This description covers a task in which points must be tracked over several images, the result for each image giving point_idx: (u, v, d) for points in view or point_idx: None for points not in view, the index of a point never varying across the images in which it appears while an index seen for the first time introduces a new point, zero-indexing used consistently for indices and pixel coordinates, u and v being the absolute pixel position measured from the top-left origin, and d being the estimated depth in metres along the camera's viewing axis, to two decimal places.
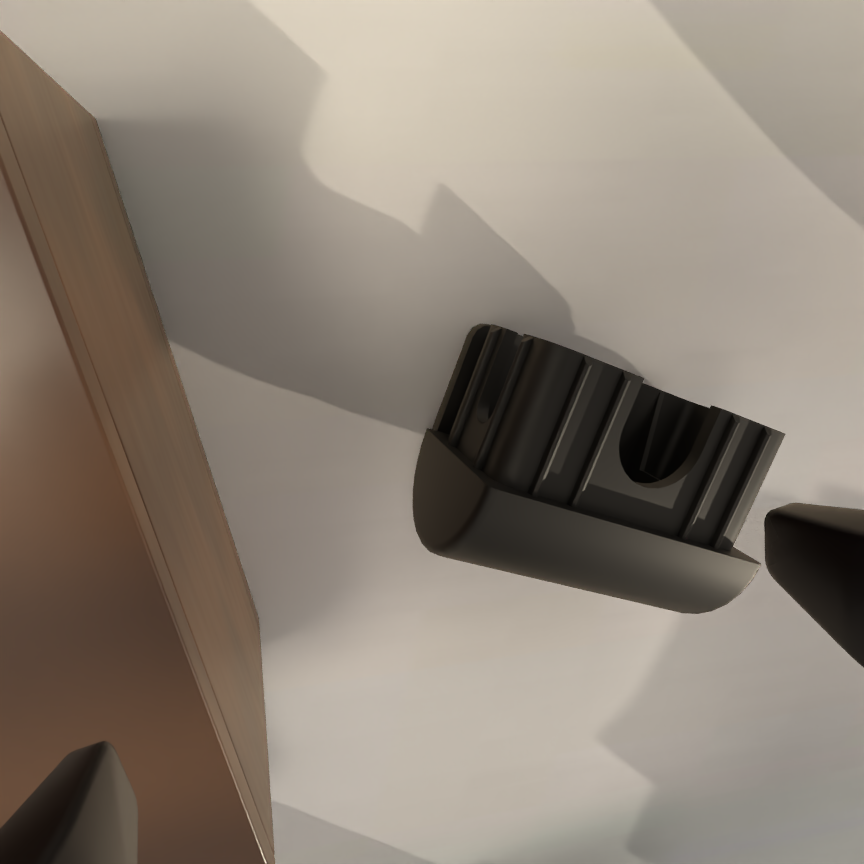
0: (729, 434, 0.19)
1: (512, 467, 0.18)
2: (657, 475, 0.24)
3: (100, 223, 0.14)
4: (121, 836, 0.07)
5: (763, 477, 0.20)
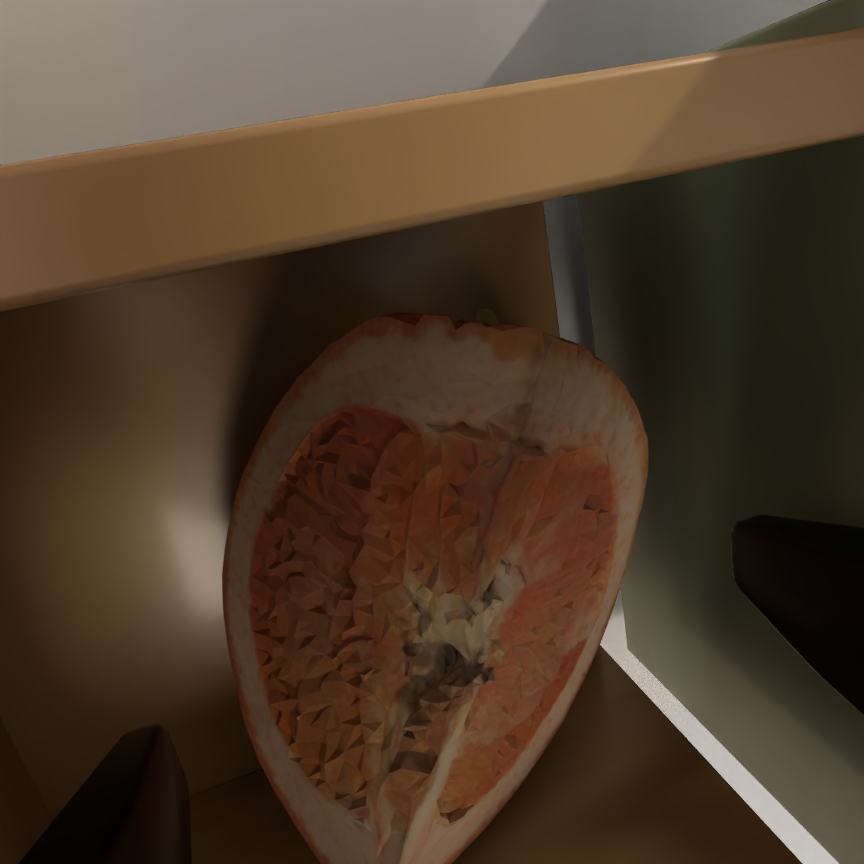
0: None
1: None
2: None
3: None
4: (177, 815, 0.07)
5: None
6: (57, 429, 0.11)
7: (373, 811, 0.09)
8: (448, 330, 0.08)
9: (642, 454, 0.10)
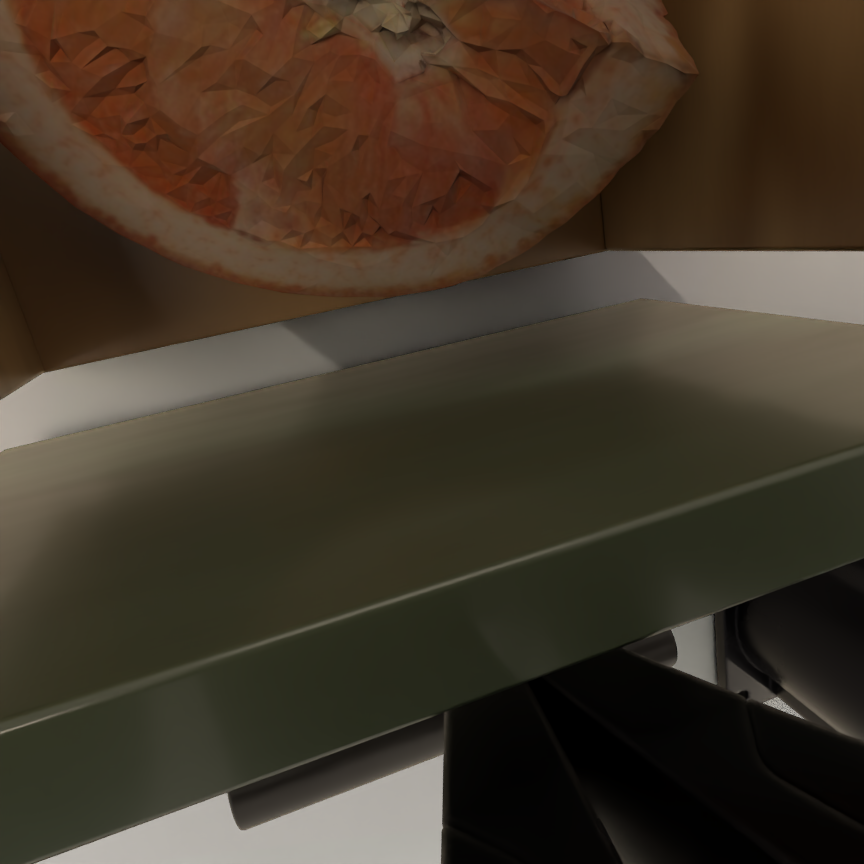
0: None
1: None
2: None
3: None
4: None
5: None
6: None
7: None
8: (657, 12, 0.08)
9: (465, 272, 0.09)
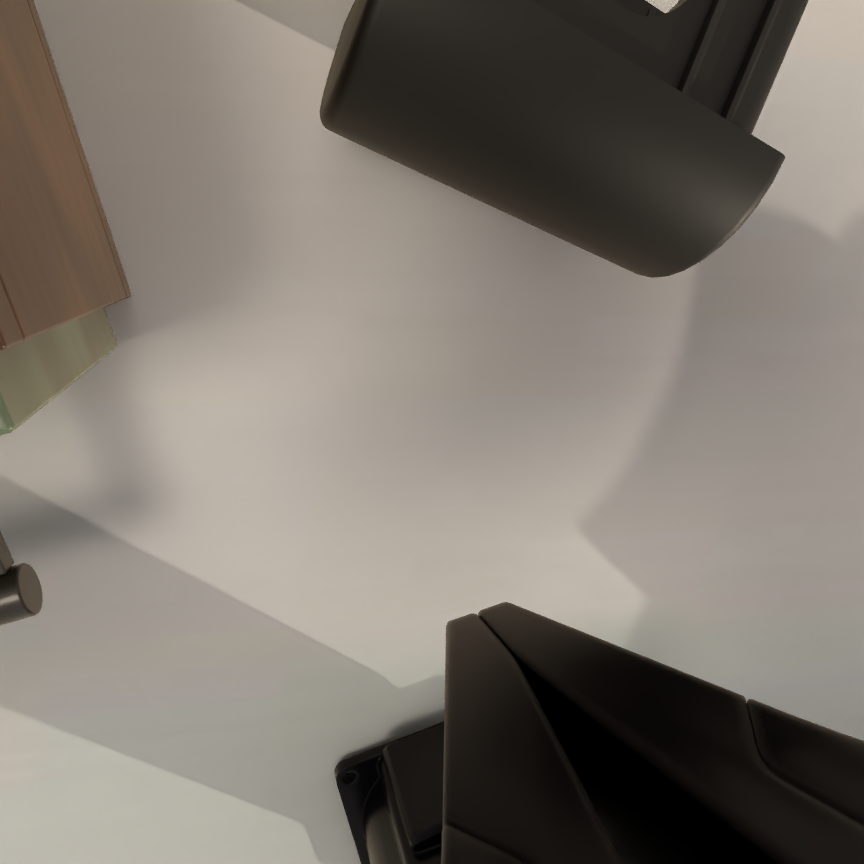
0: None
1: None
2: None
3: None
4: None
5: (787, 37, 0.15)
6: None
7: None
8: None
9: None
